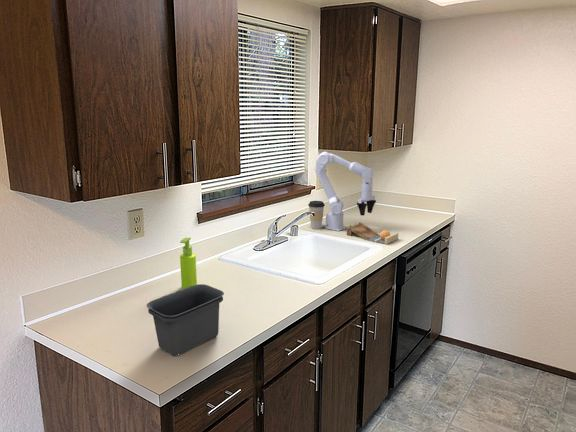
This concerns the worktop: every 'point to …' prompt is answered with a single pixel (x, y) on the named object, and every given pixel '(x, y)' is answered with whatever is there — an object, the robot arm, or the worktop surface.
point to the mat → (379, 240)
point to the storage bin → (186, 317)
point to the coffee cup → (316, 213)
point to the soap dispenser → (188, 265)
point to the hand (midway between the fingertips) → (365, 214)
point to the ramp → (361, 231)
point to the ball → (384, 234)
